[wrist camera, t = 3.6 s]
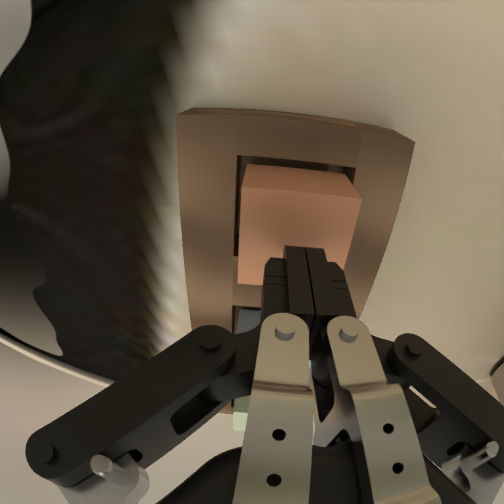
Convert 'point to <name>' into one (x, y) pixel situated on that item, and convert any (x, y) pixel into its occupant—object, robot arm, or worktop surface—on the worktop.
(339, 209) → the terracotta button
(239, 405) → the sage green button
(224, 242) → the button panel
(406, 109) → the worktop surface
